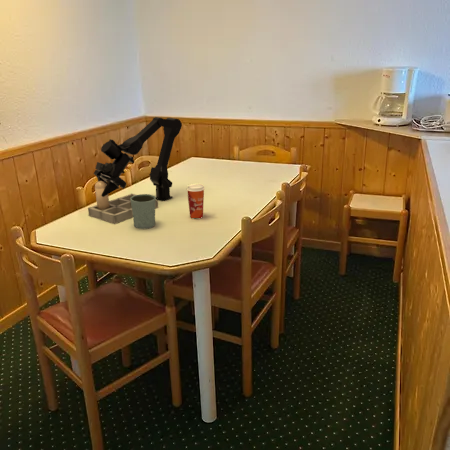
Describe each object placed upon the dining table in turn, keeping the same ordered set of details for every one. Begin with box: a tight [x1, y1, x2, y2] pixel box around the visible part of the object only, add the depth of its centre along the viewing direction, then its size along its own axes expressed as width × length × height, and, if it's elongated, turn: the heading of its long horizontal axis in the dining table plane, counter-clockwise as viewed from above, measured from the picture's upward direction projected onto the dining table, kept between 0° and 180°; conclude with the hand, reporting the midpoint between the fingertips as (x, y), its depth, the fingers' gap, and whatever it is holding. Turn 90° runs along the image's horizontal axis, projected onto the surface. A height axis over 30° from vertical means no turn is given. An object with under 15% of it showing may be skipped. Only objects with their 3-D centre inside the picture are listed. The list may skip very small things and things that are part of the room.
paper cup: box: [186, 183, 206, 219], centre depth 188 cm, size 8×8×14 cm
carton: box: [87, 193, 159, 225], centre depth 197 cm, size 17×25×4 cm
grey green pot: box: [130, 193, 157, 230], centre depth 180 cm, size 10×10×12 cm
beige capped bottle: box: [94, 180, 110, 211], centre depth 191 cm, size 5×5×12 cm
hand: (99, 194), depth 190 cm, fingers closed on beige capped bottle, 5 cm apart
